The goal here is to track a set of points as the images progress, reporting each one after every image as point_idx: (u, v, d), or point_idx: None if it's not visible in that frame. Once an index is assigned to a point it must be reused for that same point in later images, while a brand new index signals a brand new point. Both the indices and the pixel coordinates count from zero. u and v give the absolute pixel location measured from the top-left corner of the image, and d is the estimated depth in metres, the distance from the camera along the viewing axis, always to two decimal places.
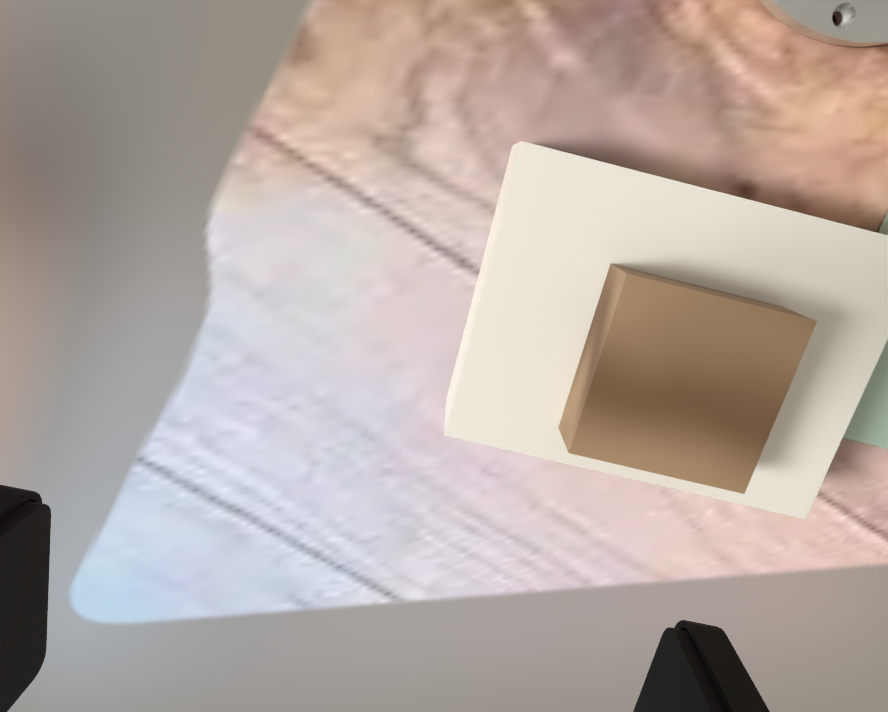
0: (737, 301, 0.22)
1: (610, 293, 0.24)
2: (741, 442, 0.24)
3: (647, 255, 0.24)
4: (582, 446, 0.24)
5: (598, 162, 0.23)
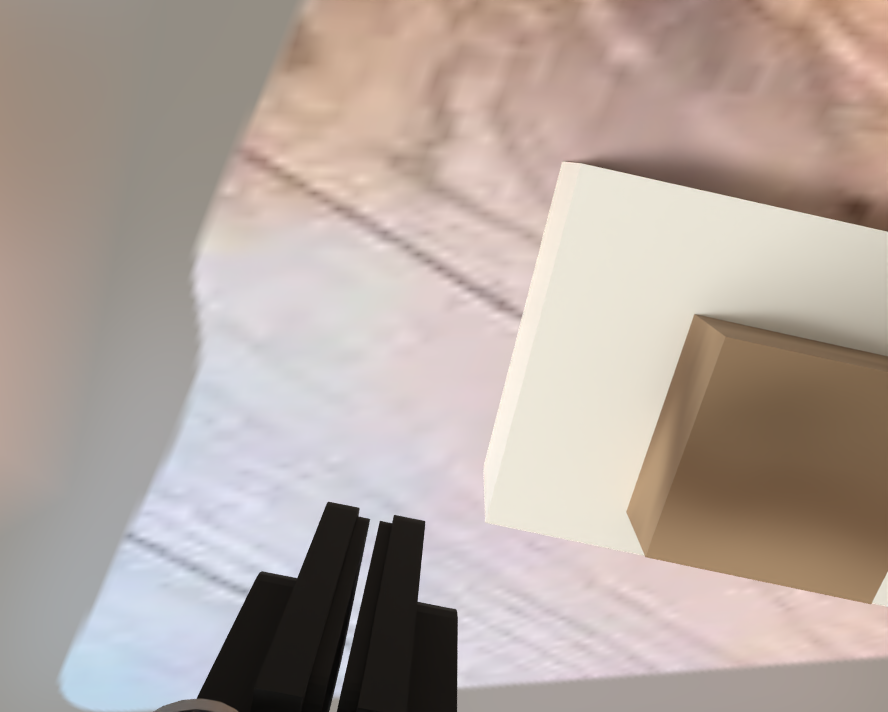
0: (871, 368, 0.17)
1: (698, 356, 0.18)
2: (870, 542, 0.19)
3: (743, 302, 0.19)
4: (663, 549, 0.19)
5: (680, 187, 0.18)
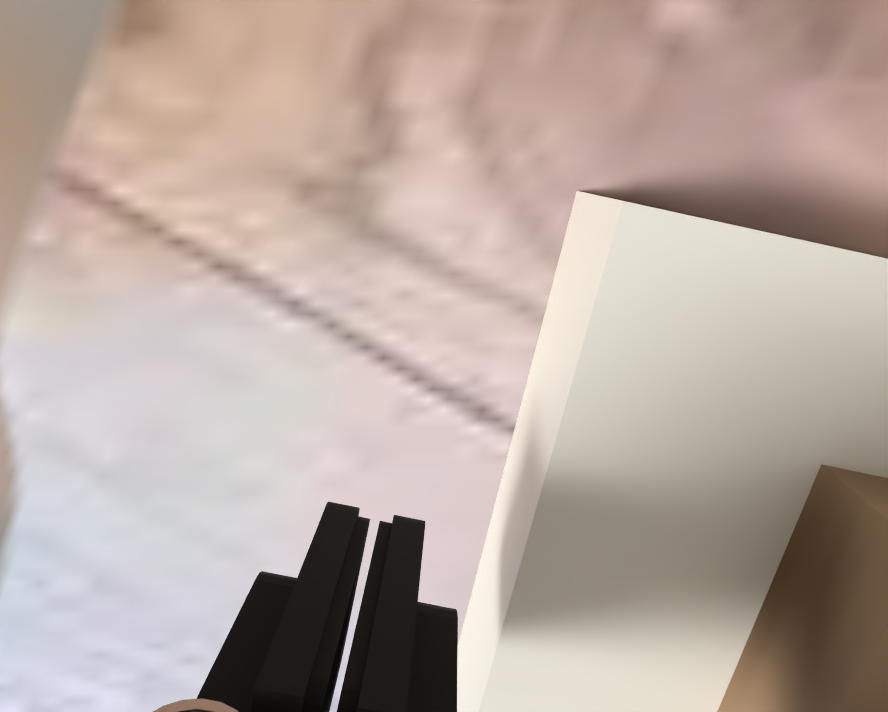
0: None
1: (843, 556, 0.10)
2: None
3: None
4: None
5: (807, 244, 0.10)
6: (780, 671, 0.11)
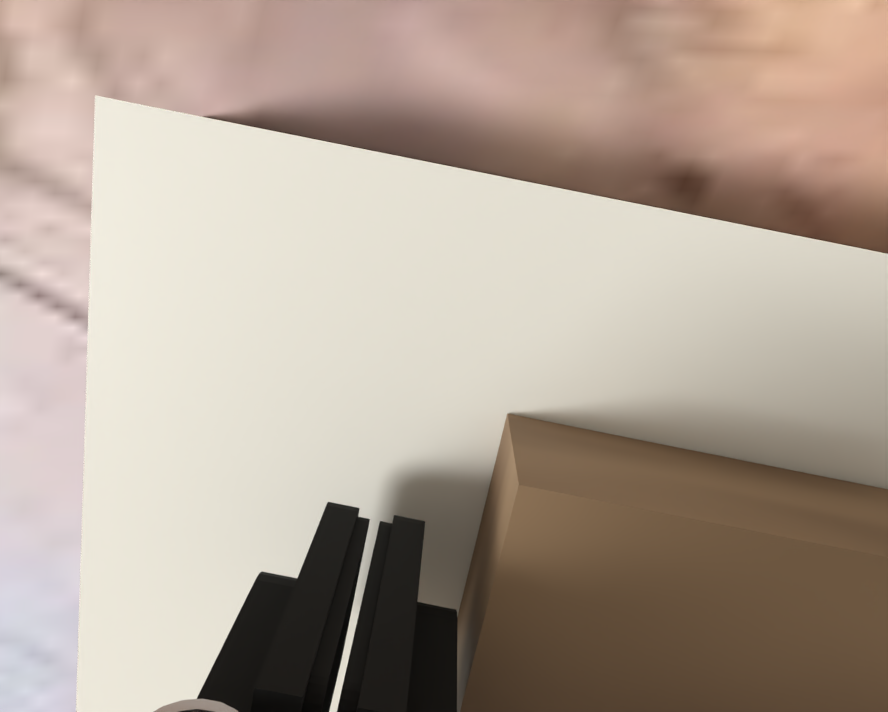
0: (819, 542, 0.08)
1: (498, 501, 0.10)
2: None
3: (444, 351, 0.10)
4: None
5: (291, 138, 0.10)
6: (465, 623, 0.11)
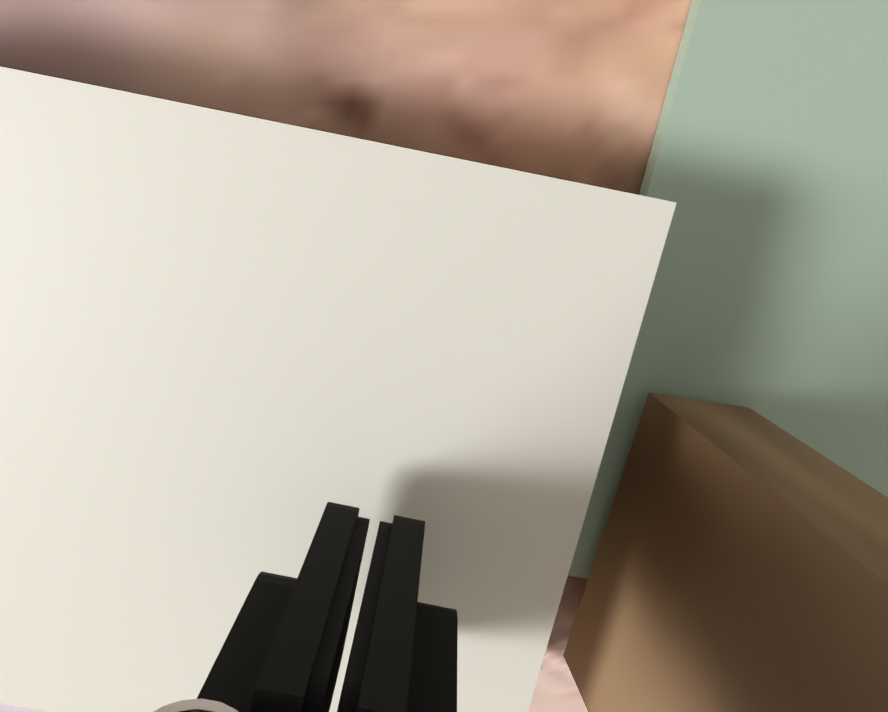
0: (844, 472, 0.11)
1: None
2: None
3: (4, 258, 0.10)
4: None
5: None
6: None
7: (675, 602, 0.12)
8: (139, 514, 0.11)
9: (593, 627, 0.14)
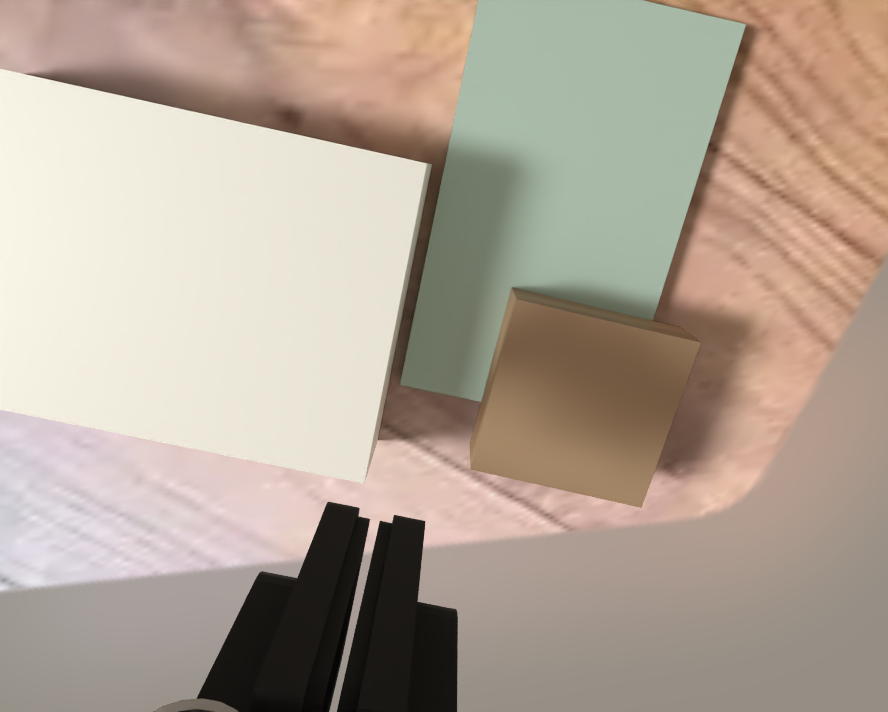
0: (582, 304, 0.26)
1: None
2: None
3: (114, 184, 0.21)
4: None
5: (31, 77, 0.21)
6: None
7: (572, 392, 0.24)
8: (173, 318, 0.23)
9: (501, 438, 0.25)
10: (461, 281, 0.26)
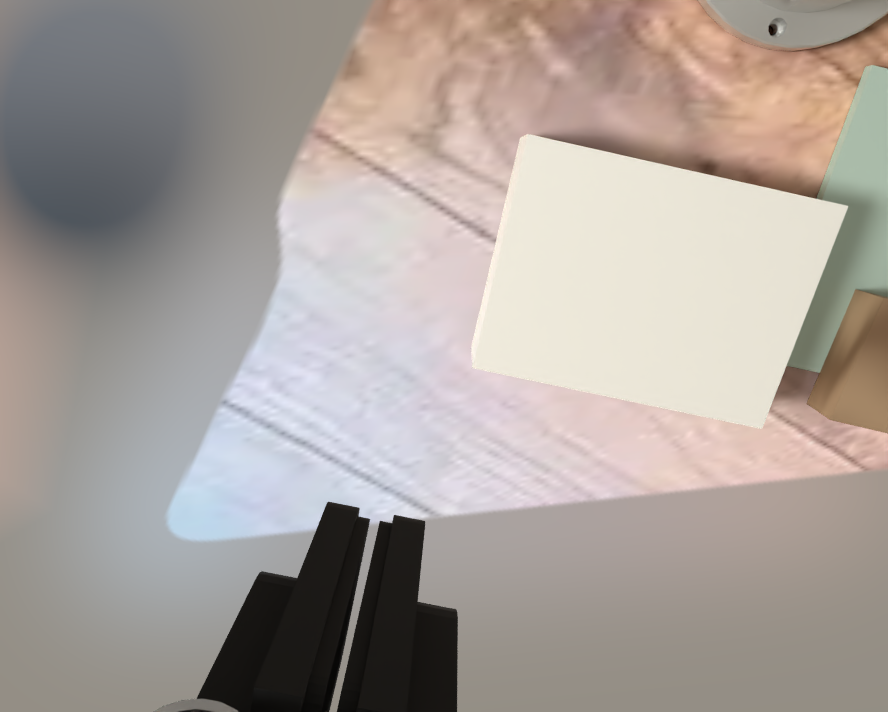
0: None
1: None
2: None
3: (628, 219, 0.31)
4: None
5: (587, 148, 0.30)
6: None
7: None
8: (649, 311, 0.33)
9: (856, 397, 0.35)
10: (819, 284, 0.35)
